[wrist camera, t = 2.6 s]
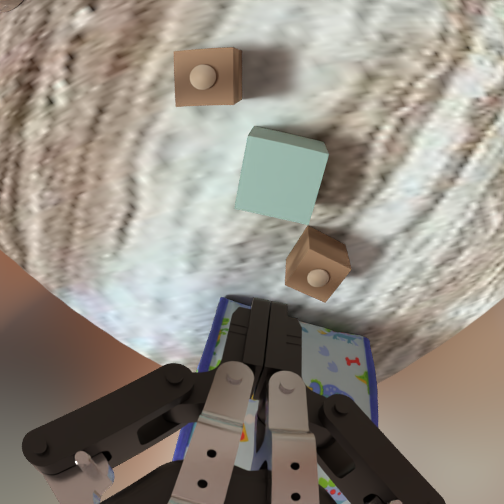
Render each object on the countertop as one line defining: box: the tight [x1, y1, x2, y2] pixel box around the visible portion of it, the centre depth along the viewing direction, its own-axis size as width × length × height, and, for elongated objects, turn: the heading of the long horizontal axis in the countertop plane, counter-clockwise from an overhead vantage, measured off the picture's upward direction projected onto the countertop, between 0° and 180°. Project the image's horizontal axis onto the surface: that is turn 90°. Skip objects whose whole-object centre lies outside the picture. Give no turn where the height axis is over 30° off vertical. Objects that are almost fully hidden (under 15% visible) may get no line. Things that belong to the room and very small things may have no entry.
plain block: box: [234, 126, 329, 225], centre depth 30 cm, size 7×7×5 cm
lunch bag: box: [172, 297, 378, 504], centre depth 35 cm, size 22×17×26 cm
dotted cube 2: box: [174, 47, 242, 107], centre depth 26 cm, size 5×5×5 cm
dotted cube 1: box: [285, 226, 351, 302], centre depth 35 cm, size 5×5×5 cm
